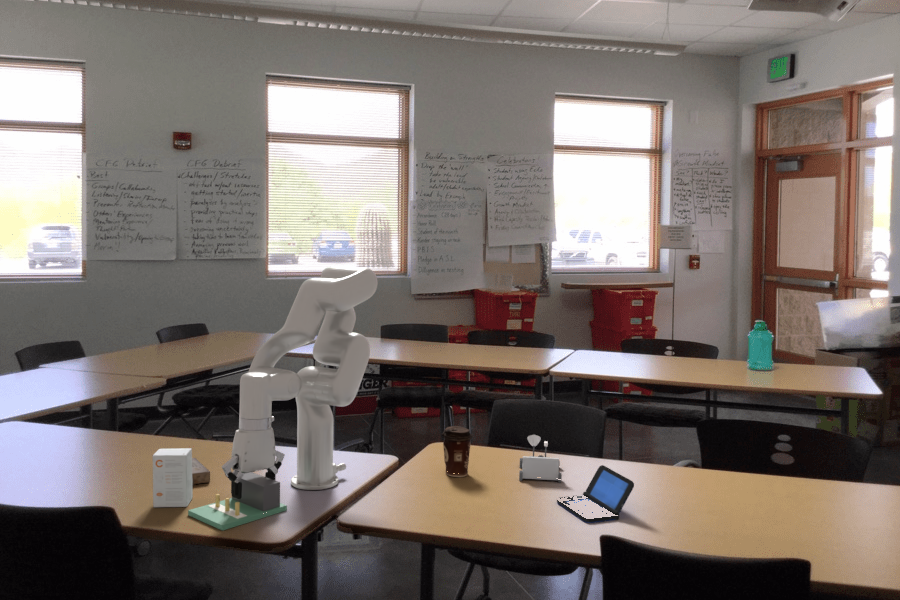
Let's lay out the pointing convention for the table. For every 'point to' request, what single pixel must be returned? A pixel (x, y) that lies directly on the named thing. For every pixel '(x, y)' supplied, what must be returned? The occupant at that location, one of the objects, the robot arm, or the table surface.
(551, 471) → the toy rover
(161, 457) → the small box
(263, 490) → the block
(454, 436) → the coffee cup
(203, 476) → the box
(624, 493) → the laptop
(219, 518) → the header board
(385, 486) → the table surface
